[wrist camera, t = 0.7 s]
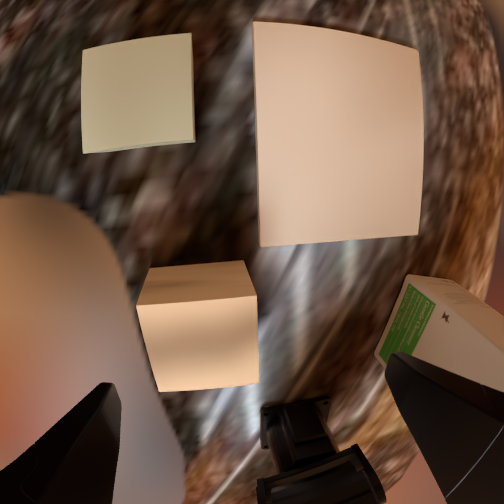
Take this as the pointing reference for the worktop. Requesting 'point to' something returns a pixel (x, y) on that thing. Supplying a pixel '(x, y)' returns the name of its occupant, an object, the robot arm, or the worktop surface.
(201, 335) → the maple block
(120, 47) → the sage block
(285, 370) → the worktop surface
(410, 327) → the skincare box
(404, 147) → the baseplate
